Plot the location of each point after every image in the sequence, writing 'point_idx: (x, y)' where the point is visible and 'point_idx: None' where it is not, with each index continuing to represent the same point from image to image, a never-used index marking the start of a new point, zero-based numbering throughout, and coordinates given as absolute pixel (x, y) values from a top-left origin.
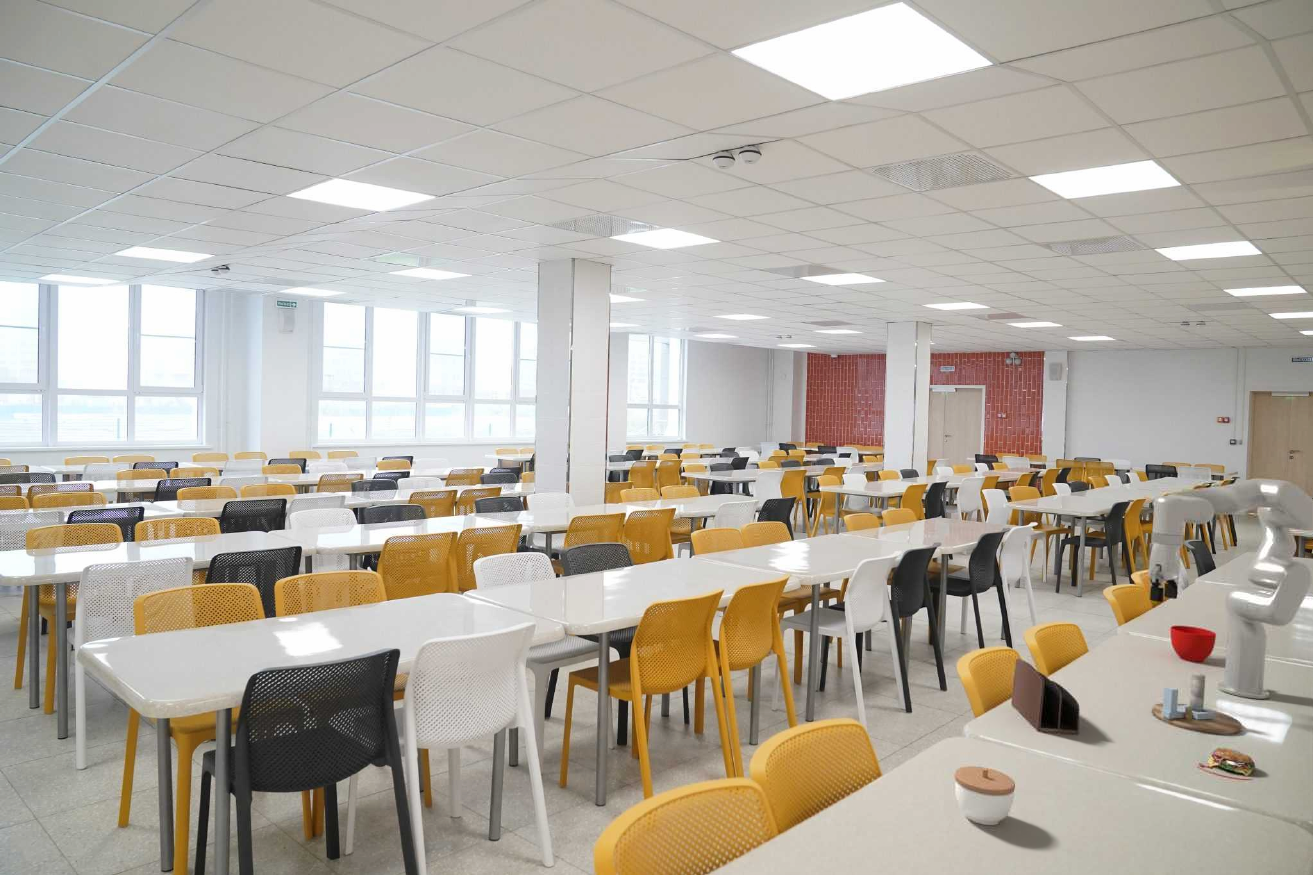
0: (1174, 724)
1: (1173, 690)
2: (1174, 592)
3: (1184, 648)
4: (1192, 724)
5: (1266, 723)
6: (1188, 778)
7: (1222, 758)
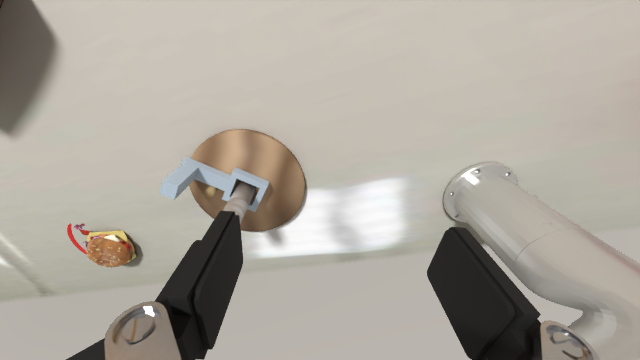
0: None
1: (163, 194)
2: (444, 302)
3: None
4: (200, 193)
5: (326, 237)
6: (23, 227)
7: (86, 248)
